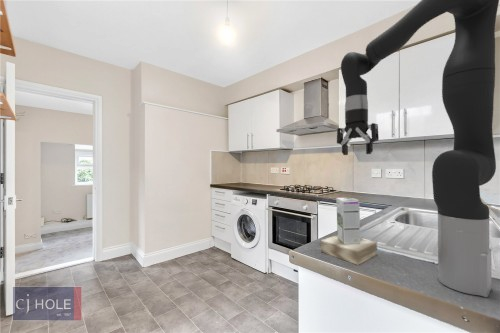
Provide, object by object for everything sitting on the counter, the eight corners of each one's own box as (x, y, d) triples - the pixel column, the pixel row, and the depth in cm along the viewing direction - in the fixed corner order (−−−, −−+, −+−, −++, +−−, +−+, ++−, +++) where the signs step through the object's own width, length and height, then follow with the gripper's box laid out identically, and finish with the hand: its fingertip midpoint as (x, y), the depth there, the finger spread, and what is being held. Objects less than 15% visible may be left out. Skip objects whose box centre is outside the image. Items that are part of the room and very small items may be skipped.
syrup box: (361, 244, 73) (360, 199, 73) (342, 244, 74) (342, 200, 73) (353, 238, 79) (352, 197, 79) (336, 238, 79) (335, 197, 79)
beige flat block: (376, 254, 75) (376, 242, 75) (358, 265, 68) (357, 251, 68) (340, 243, 85) (340, 233, 85) (321, 251, 78) (320, 240, 78)
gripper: (381, 107, 79) (382, 154, 79) (343, 114, 90) (343, 155, 90) (371, 104, 74) (372, 153, 75) (332, 112, 85) (333, 155, 86)
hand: (356, 154), depth 83 cm, fingers open, 8 cm apart
